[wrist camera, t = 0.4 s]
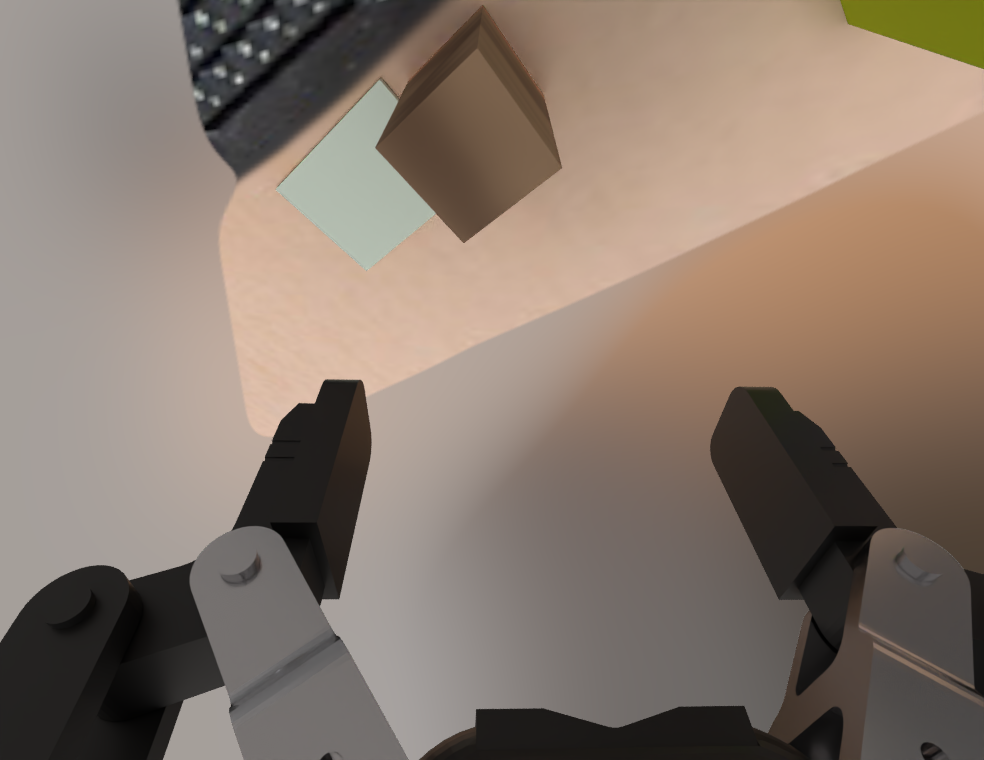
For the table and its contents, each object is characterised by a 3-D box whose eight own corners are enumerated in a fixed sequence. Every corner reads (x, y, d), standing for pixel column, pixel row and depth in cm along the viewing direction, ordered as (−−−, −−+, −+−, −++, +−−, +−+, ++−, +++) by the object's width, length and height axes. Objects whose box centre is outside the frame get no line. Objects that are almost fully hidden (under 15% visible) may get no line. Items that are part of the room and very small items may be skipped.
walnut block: (482, 5, 24) (477, 48, 17) (543, 96, 27) (562, 167, 19) (408, 80, 26) (375, 148, 19) (471, 157, 29) (463, 243, 22)
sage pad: (381, 77, 26) (379, 79, 26) (470, 182, 30) (469, 185, 29) (277, 186, 30) (275, 189, 30) (367, 267, 34) (366, 271, 33)
